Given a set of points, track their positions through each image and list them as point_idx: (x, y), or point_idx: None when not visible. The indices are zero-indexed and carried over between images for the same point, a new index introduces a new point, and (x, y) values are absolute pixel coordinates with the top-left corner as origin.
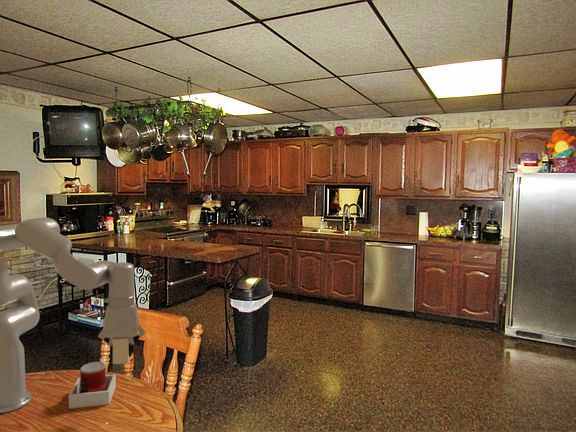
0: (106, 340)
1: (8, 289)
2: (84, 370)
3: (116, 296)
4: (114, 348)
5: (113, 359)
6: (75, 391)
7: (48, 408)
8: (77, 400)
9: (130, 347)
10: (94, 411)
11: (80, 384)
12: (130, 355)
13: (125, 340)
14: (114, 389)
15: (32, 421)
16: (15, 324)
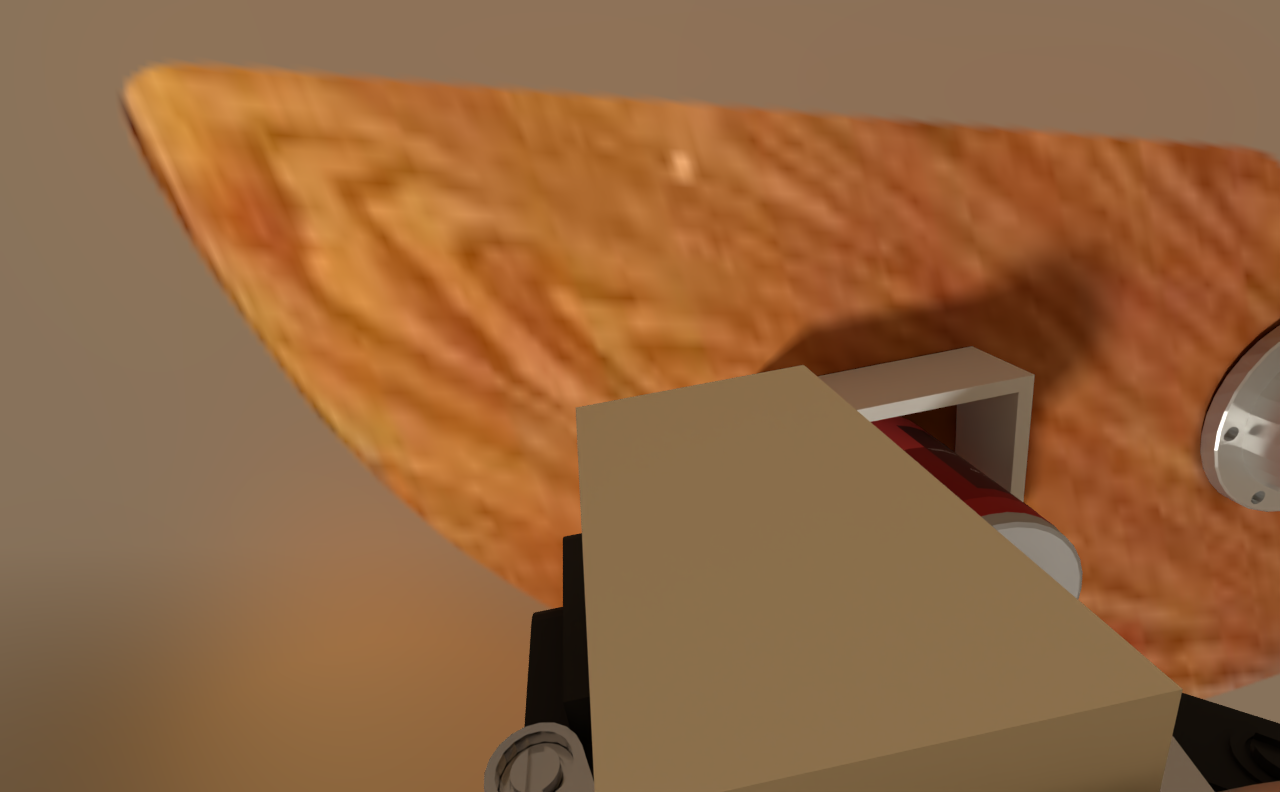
0: (1243, 747)
1: None
2: (1044, 552)
3: None
4: (917, 507)
5: (825, 394)
6: (991, 466)
7: (1088, 351)
8: (952, 371)
9: (571, 659)
10: (808, 310)
11: None
12: (569, 546)
13: (682, 744)
14: None
15: (1150, 209)
16: None
